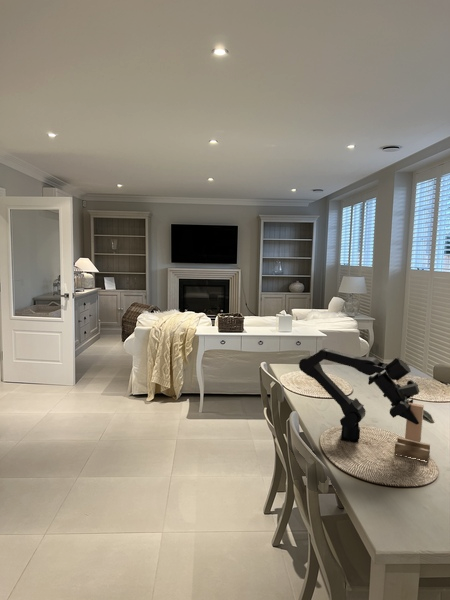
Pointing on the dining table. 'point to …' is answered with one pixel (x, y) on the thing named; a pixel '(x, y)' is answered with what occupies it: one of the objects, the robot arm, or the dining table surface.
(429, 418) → the ceramic fragment
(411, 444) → the tan u-shaped channel
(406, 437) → the clay block
